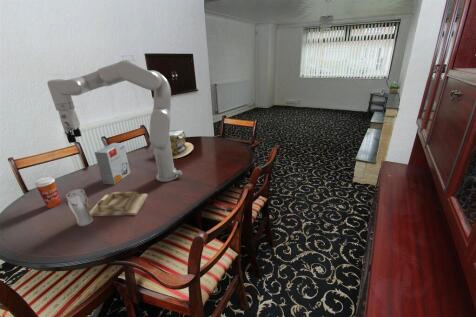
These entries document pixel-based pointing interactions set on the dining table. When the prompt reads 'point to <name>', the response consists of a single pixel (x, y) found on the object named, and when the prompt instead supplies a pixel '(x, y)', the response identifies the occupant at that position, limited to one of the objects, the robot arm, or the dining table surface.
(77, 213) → the beer glass
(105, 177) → the hard drive box
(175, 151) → the gold white round stack
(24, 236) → the dining table surface
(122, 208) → the pocket board
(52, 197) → the paper cup
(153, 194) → the dining table surface
